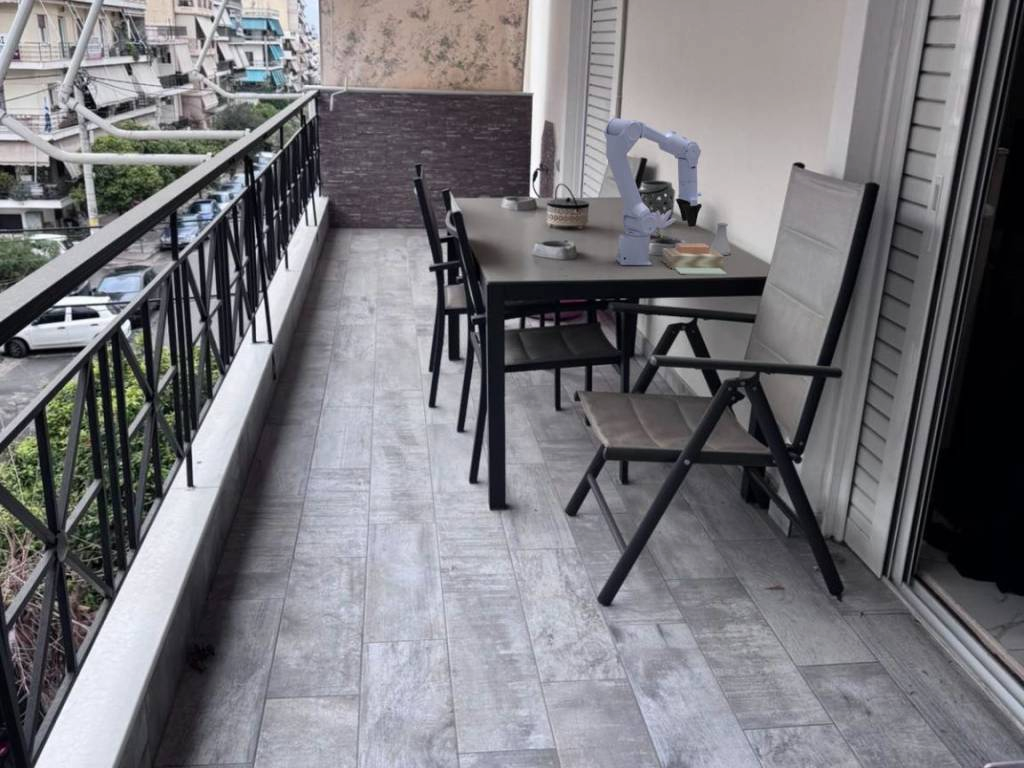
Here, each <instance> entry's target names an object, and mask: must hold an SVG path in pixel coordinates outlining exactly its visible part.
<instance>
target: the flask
mask: <svg viewBox="0 0 1024 768" xmlns="http://www.w3.org/2000/svg"><path fill="white" fill-rule="evenodd" d="M716 223H717V222H716ZM716 225H717V230H716V233H715V235H714V238H713V240H712V243H711V244H710V246H709V247H710V249H714V250H716V251H717V252H718V253H720V254H721V255H723V256H729V255H732V251H731V248H730V244H729V240H728V235H727V226H728V225H729V224H728V223H726V222H718V223H717V224H716Z"/></svg>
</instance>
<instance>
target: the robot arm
mask: <svg viewBox="0 0 1024 768" xmlns="http://www.w3.org/2000/svg"><path fill="white" fill-rule="evenodd" d="M603 134H604V137H605V138H606V142H605V146H606V147H605V155H606V158H607V159H606V160H607V162H608V165H609V168H610V170H611V173H612V175H613V178H614V182H615V184H616V187H617V190H618V192H619V195H620V198H621V201H622V204H623V206H624V207H623V209H622V211H621V215H622V225H623V228H624V229H625V233H622V234H621V233H620V234H619V235H618V239H617V240H618V242H617V254H616V261H617V262H618V264H619V265H620V266H652V262H650V260H649V256H650V255H649V254H650V253H649V252H650V242H651V236H652V234H653V233H655V232H654V230H655V228H656V219H655V217H654V216H653V215H652V214H651V213H652V212H651V210H650V208H649V207H647V205H646V204H645V203H644V202H643V200H642V198H641V194H640V191H639V189H638V186H637V183H636V180H635V177H634V174H633V172H632V168H631V165H630V162H629V160H628V157H627V156H628V153H629V152H630V151H631V150H632V149H633V147H634V146H635V145H636V144H637V142H638V141H639V139H645V140H648V141H651V142H653V143H656V144H657V145H658V148H659V150H661V151H664V152H666V153H668V154H670V155H672V156H674V158H675V159H677V171H678V172H677V173H678V174H677V177H678V195H677V198H675V202H676V203H677V206H678V208H679V212H680V216H681V220H682V222H686V221H687V226H688V227H689V228H692V227H696V226H697V222H698V215H699V213H700V210H701V208H702V206H703V205H702V203H698V198H699V197H701V196H702V192H698V164H699V158H700V156H701V153H702V149H700V146H699V145H698V143H697V142H696V141H692V140H691V141H690V140H688V138H687V137H685V136H680V135H678V134H677V132H676V131H675V130H668V131H665V132H661V131H659V130H658V129H656V128H653V126H651V125H648V124H646V123H645V122H641V121H638V120H636V119H624V118H619V117H614V118H611V119H610V120H609V121H608V123H607V124H606V127H605V129H604V131H603Z"/></svg>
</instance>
